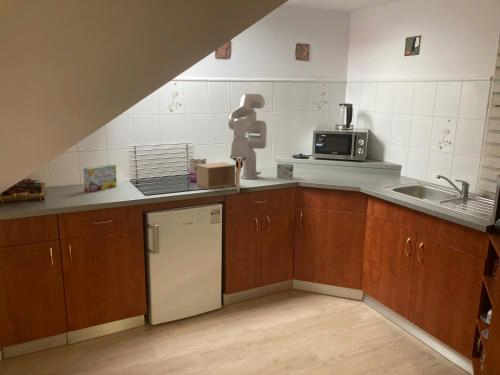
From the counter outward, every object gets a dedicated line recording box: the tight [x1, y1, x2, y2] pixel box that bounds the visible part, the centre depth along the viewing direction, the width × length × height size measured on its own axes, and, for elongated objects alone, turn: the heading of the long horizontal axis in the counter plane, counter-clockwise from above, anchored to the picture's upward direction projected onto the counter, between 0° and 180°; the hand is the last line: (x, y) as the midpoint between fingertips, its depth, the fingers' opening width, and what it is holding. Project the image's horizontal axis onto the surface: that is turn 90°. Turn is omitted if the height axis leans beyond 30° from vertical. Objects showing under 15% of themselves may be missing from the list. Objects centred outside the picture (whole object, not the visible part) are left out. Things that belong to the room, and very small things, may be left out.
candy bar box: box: [189, 157, 207, 183], centre depth 297 cm, size 11×5×16 cm, turn 62°
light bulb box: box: [276, 162, 294, 180], centre depth 315 cm, size 11×7×11 cm, turn 58°
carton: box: [196, 161, 236, 190], centre depth 286 cm, size 22×14×14 cm, turn 128°
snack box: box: [82, 163, 117, 193], centre depth 268 cm, size 21×6×15 cm, turn 148°
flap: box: [235, 157, 242, 193], centre depth 276 cm, size 22×2×21 cm, turn 6°
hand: (239, 167), depth 268 cm, fingers closed
